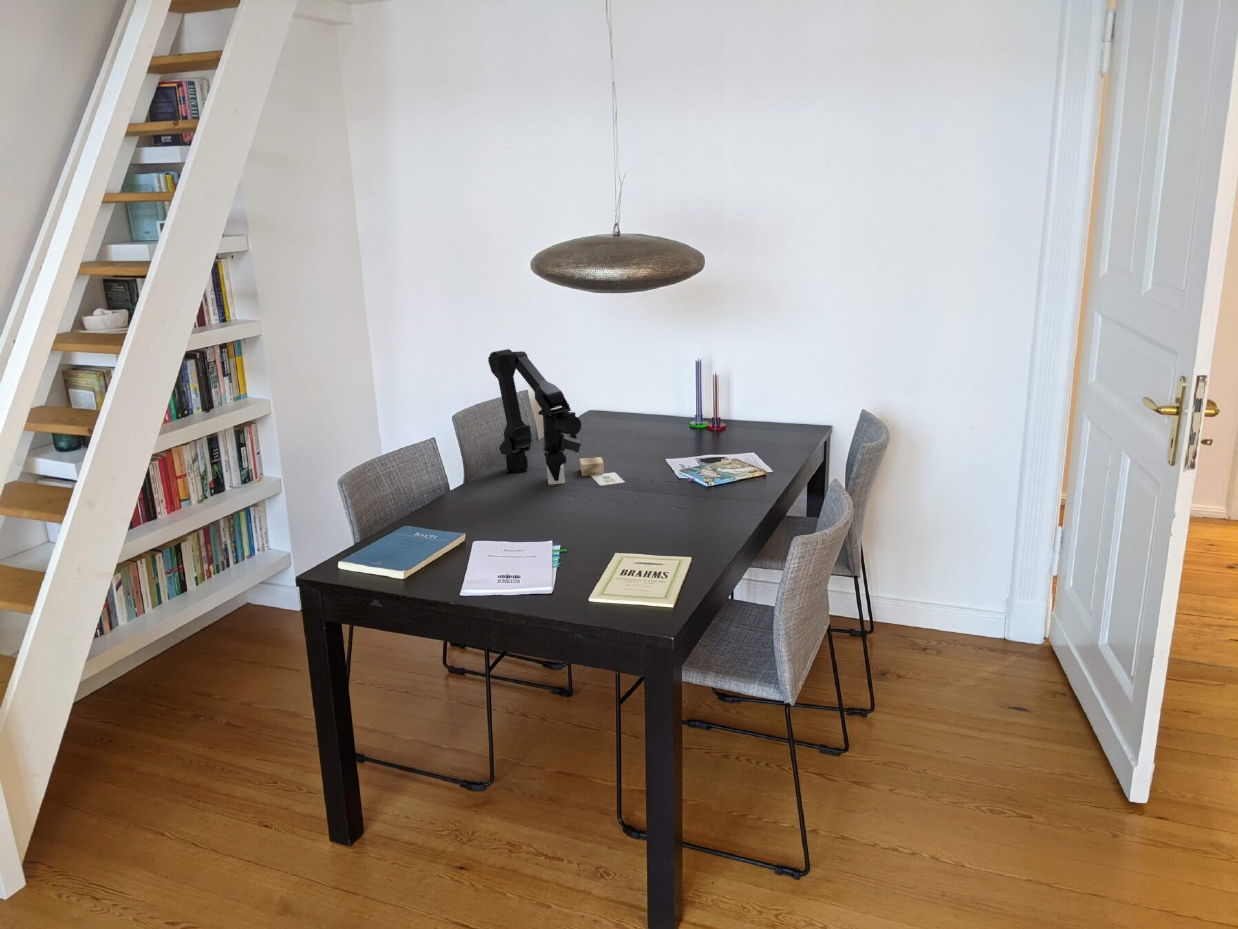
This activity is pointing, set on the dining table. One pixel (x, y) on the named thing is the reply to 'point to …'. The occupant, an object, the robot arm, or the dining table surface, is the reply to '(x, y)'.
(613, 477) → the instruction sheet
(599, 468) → the oak base
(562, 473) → the white cube
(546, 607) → the dining table surface
